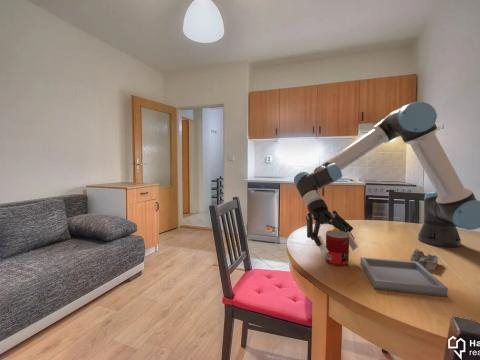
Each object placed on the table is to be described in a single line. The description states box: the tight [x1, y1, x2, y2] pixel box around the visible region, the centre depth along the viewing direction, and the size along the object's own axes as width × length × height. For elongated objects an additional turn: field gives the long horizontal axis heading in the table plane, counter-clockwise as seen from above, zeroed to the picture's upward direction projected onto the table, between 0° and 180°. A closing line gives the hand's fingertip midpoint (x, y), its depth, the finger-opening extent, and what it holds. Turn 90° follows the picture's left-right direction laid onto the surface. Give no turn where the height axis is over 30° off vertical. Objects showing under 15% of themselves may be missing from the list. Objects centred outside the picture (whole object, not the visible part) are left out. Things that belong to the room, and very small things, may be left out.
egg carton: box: [409, 248, 440, 271], centre depth 87 cm, size 11×8×4 cm
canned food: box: [325, 229, 350, 267], centre depth 90 cm, size 8×8×11 cm
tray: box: [359, 256, 449, 298], centre depth 77 cm, size 18×18×2 cm
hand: (341, 251), depth 88 cm, fingers open, 13 cm apart
